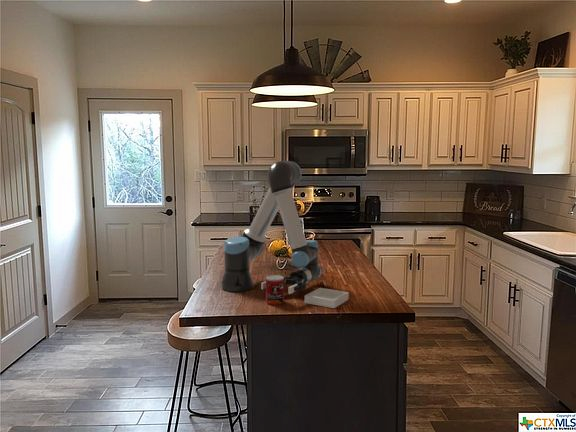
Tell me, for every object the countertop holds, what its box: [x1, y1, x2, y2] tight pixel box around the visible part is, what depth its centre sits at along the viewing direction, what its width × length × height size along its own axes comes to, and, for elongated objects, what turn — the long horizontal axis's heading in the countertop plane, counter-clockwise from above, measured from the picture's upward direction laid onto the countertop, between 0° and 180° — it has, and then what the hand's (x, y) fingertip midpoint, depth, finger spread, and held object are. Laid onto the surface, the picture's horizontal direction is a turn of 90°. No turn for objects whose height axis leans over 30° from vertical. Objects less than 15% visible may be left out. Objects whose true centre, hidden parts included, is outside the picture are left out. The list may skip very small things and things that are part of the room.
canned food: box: [265, 274, 285, 306], centre depth 198 cm, size 8×8×11 cm
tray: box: [304, 287, 350, 309], centre depth 200 cm, size 14×14×3 cm
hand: (275, 288), depth 197 cm, fingers open, 13 cm apart
